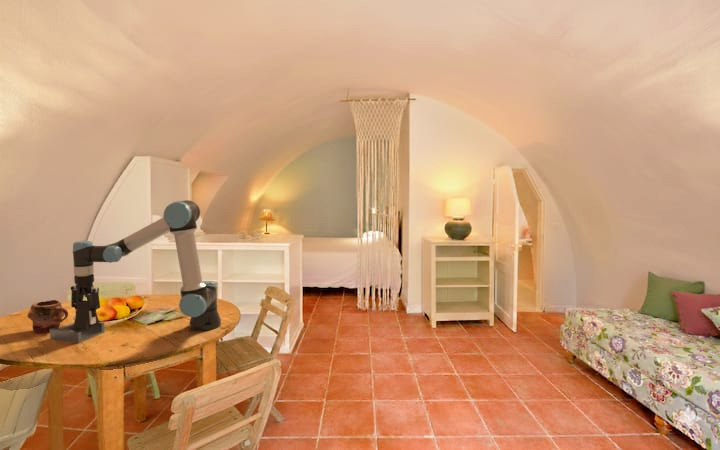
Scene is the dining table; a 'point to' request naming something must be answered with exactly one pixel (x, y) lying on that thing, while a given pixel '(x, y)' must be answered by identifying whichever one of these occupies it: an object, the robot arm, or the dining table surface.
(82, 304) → the door stopper
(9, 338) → the dining table surface
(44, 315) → the brown clay mug
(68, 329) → the bracket
